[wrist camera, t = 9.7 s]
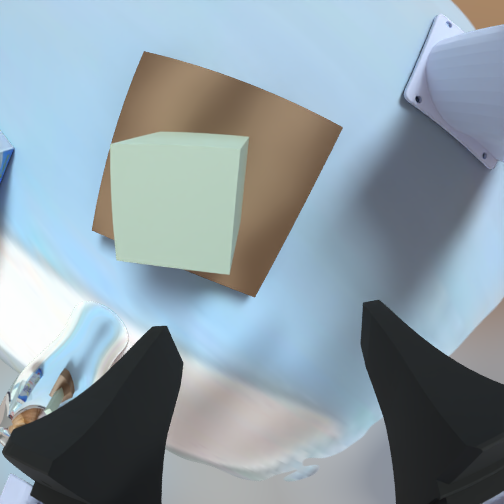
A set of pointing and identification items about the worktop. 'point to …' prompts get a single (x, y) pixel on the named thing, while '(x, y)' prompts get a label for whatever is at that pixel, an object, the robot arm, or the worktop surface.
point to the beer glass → (64, 366)
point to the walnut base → (258, 157)
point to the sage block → (178, 199)
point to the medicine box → (4, 153)
